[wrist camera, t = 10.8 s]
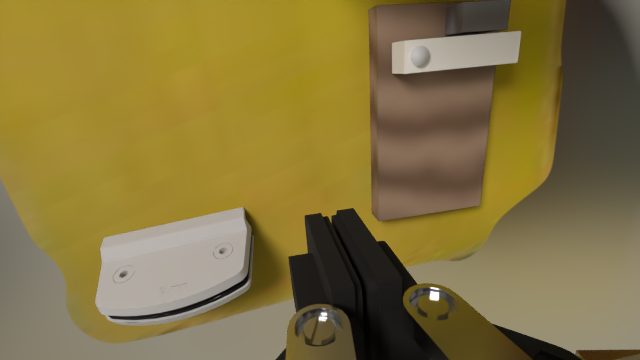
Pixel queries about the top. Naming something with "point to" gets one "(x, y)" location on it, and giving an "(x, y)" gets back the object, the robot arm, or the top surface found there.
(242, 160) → the top surface
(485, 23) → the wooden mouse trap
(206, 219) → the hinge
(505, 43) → the folding leg
